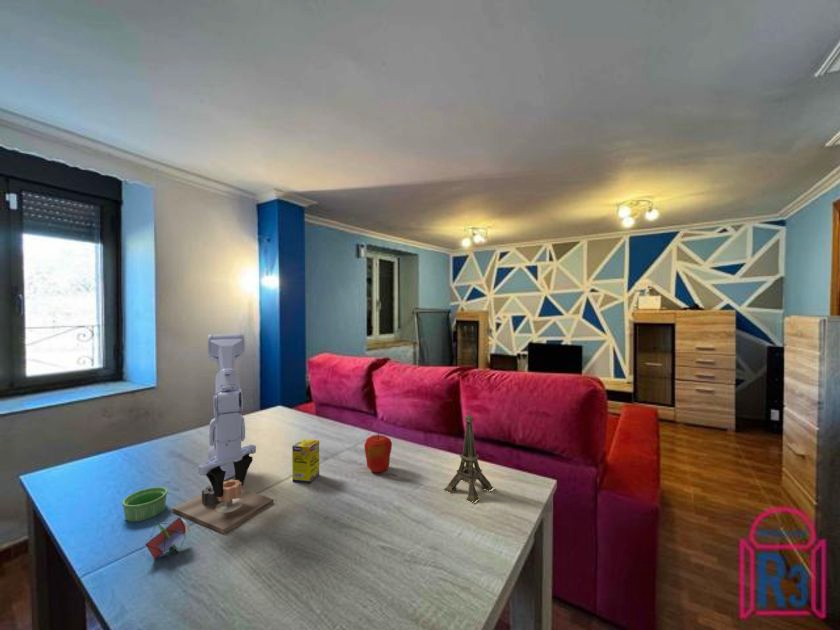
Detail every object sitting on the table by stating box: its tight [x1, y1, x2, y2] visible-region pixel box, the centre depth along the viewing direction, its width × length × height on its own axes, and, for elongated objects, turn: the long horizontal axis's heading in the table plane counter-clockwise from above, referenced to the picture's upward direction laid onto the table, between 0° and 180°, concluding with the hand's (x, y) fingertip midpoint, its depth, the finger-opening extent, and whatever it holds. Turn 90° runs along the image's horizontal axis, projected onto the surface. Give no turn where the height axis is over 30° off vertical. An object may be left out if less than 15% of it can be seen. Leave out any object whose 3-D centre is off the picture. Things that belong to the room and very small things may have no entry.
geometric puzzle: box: [145, 516, 191, 560], centre depth 73 cm, size 7×7×8 cm
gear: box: [217, 479, 243, 502], centre depth 89 cm, size 5×5×3 cm
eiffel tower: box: [442, 407, 494, 505], centre depth 98 cm, size 11×11×25 cm
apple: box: [364, 433, 393, 474], centre depth 110 cm, size 9×8×12 cm
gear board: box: [171, 485, 274, 535], centre depth 90 cm, size 20×14×4 cm
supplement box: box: [291, 438, 320, 484], centre depth 105 cm, size 6×6×11 cm
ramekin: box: [122, 486, 169, 522], centre depth 88 cm, size 9×9×4 cm
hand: (229, 490), depth 89 cm, fingers closed on gear, 5 cm apart
